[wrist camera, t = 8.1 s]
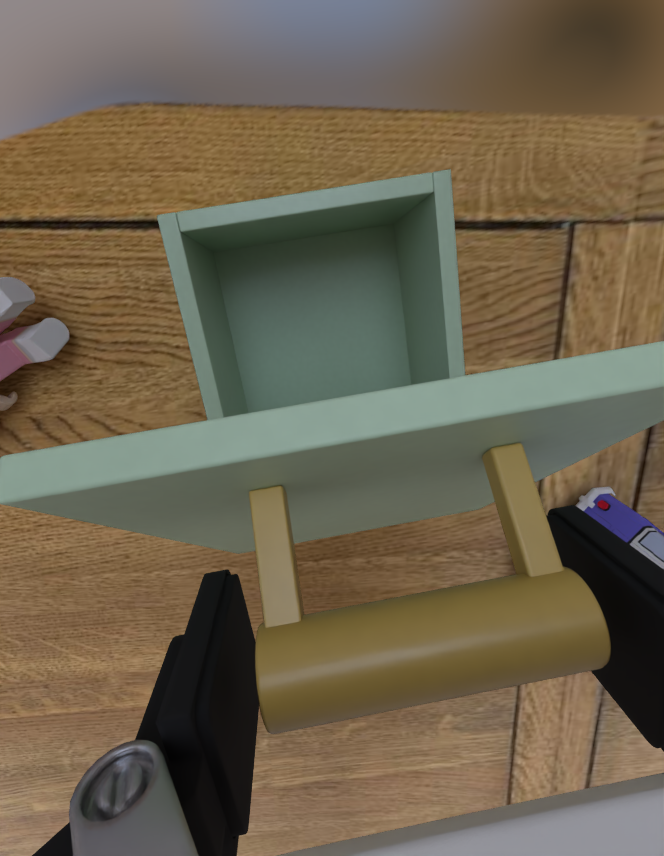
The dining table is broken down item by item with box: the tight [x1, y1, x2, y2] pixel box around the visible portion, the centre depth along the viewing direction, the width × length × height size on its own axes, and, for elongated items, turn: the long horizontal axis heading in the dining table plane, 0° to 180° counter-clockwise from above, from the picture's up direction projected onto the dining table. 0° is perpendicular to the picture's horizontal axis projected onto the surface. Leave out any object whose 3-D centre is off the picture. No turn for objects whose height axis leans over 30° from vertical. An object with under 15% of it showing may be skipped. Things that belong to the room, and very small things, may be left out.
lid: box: [0, 341, 664, 734], centre depth 14 cm, size 16×13×5 cm
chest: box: [157, 169, 465, 420], centre depth 25 cm, size 16×13×9 cm
